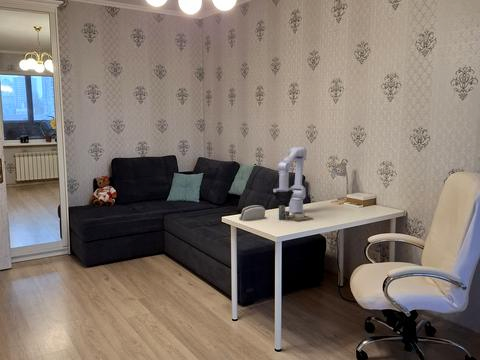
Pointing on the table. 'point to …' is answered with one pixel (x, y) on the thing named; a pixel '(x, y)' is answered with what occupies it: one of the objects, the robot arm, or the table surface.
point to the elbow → (282, 213)
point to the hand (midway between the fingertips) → (283, 203)
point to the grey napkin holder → (252, 213)
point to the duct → (298, 217)
